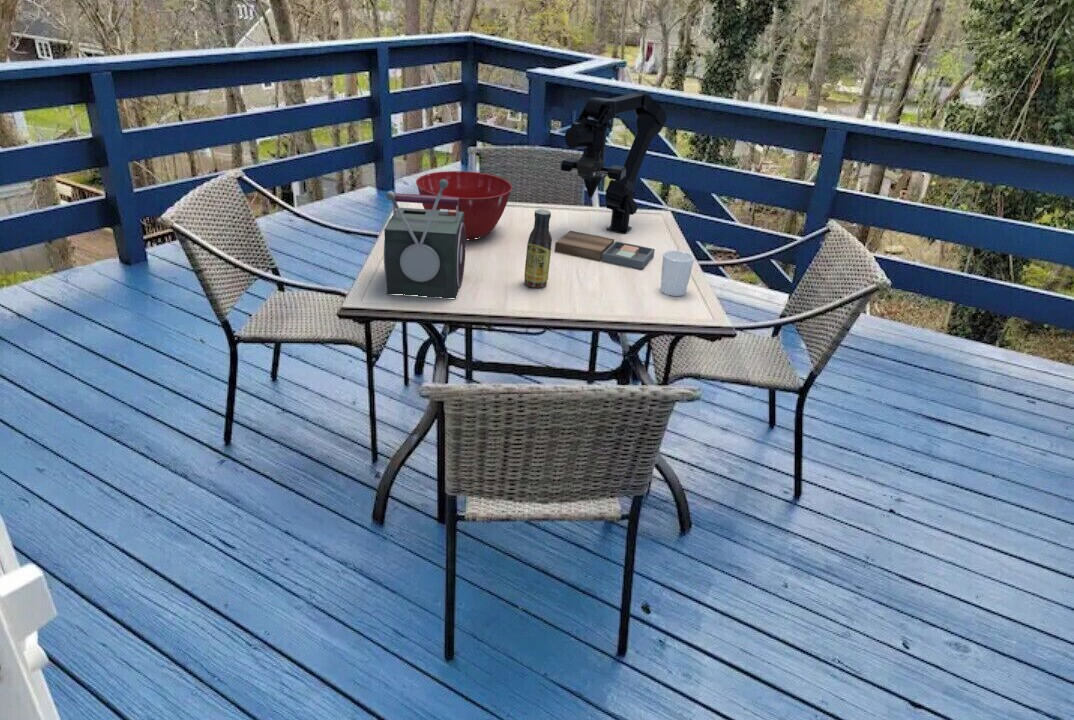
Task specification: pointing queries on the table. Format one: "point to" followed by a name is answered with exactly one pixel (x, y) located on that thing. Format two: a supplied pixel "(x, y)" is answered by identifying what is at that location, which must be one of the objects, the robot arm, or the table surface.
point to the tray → (637, 263)
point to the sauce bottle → (538, 251)
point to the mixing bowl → (470, 197)
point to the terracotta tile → (630, 249)
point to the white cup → (676, 272)
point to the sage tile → (626, 254)
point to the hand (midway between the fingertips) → (590, 197)
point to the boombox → (424, 246)
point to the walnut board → (583, 245)
